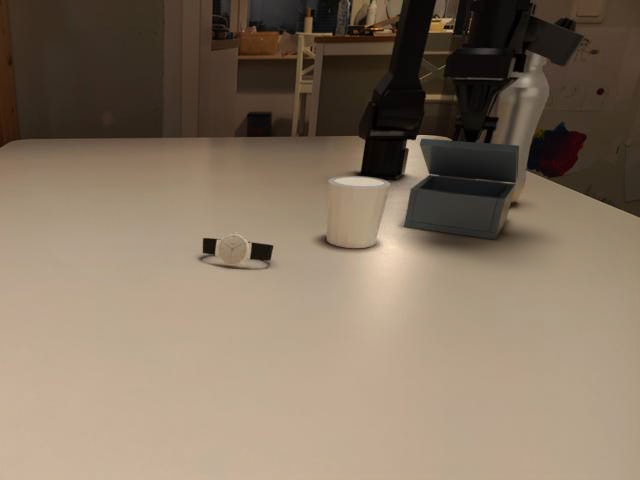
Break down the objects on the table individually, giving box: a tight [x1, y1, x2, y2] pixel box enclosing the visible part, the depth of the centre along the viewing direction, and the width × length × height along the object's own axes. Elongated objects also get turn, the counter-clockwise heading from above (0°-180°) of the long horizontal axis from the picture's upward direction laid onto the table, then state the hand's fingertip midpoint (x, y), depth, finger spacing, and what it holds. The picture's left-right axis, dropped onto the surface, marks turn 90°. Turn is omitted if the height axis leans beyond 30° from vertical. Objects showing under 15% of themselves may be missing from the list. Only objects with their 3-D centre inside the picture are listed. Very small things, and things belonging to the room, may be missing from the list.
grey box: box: [403, 174, 516, 240], centre depth 79 cm, size 10×11×5 cm
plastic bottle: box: [476, 50, 550, 203], centre depth 85 cm, size 6×7×20 cm
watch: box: [202, 230, 274, 266], centre depth 66 cm, size 8×5×4 cm, turn 68°
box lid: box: [419, 114, 519, 183], centre depth 76 cm, size 11×11×4 cm
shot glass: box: [326, 175, 391, 249], centre depth 71 cm, size 7×7×7 cm
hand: (472, 141), depth 74 cm, fingers closed on box lid
